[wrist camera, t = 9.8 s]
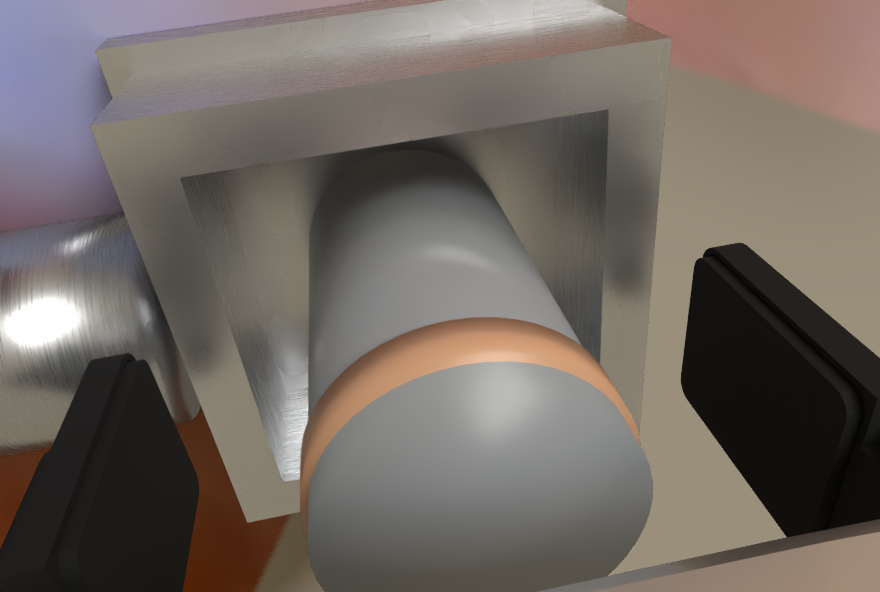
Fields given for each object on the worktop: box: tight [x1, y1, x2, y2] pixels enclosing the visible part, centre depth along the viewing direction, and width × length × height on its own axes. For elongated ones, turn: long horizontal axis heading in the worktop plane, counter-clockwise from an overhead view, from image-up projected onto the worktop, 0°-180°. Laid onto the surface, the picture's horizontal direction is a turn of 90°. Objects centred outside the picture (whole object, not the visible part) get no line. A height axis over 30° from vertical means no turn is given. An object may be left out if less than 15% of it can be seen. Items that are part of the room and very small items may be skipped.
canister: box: [300, 150, 653, 592], centre depth 12 cm, size 5×5×8 cm
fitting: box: [0, 0, 672, 523], centre depth 14 cm, size 16×10×4 cm, turn 96°
